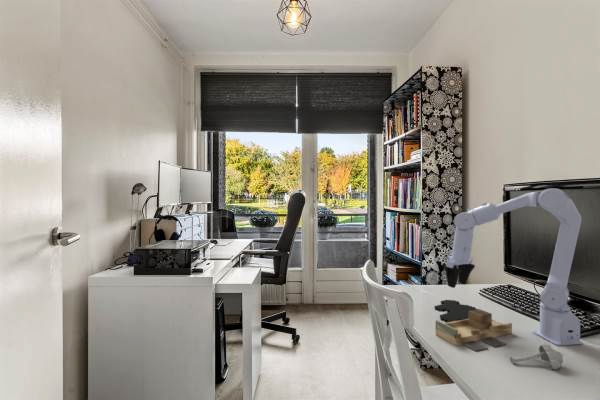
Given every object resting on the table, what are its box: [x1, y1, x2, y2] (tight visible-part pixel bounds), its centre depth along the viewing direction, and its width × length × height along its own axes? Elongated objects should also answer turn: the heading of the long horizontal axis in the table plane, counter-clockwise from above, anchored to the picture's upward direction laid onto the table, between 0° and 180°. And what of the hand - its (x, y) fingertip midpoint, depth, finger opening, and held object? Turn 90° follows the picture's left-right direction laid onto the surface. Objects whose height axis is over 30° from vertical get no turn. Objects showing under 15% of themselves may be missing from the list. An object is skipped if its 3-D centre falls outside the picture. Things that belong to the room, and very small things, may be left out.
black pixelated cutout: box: [434, 299, 478, 323], centre depth 122 cm, size 16×1×30 cm
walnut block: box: [468, 308, 493, 331], centre depth 107 cm, size 4×4×4 cm
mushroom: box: [509, 343, 564, 370], centre depth 88 cm, size 7×5×12 cm
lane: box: [435, 319, 513, 353], centre depth 104 cm, size 22×13×4 cm, turn 110°
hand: (456, 285), depth 121 cm, fingers open, 7 cm apart
